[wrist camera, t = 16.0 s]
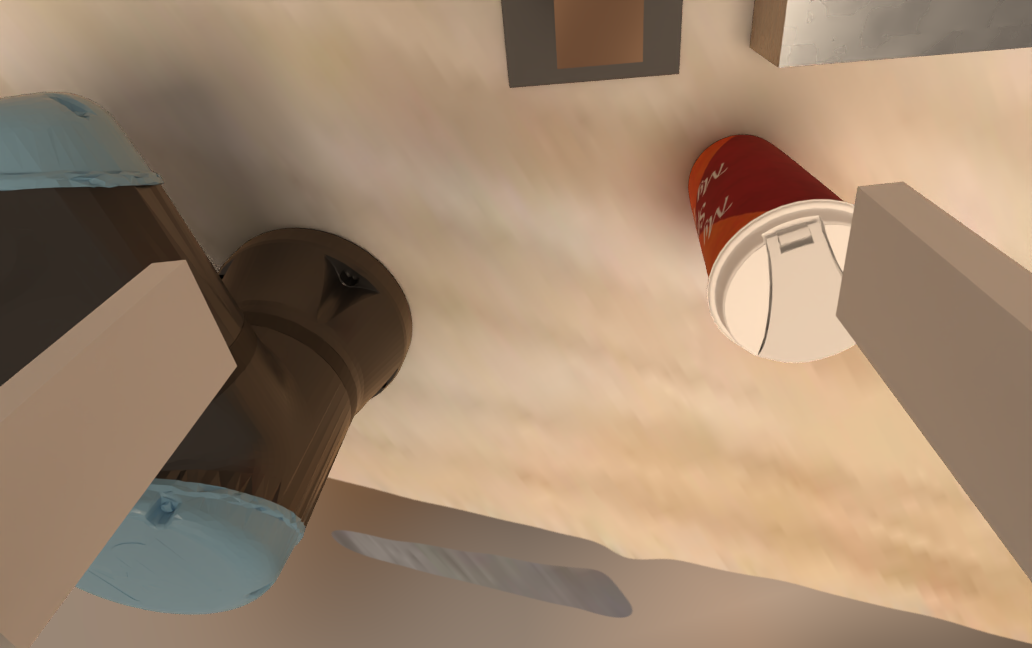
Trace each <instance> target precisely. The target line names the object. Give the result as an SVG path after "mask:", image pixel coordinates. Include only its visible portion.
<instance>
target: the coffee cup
mask: <svg viewBox="0 0 1032 648" xmlns="http://www.w3.org/2000/svg"><path fill="white" fill-rule="evenodd" d="M688 189H689V198H690V203H691V208H692V212H693V217H694V221H695V225H696V229H697V233H698V237H699V241H700V245H701V249H702V253H703V257H704V261H705V265H706V269H707V273H708V277H709V279H708V285H707V302H708V306H709V311H710V313H711V316H712V318H713V320H714V322H715V324H716V325H717V327H718V328H719V330H720V331H721V332H722V333H723V334H724V335H725V336H726V337H727V338H728V339H729V340H731V341H732V342H734V343H735V344H737V345H738V346H740V347H742V348H744V349H745V350H746V351H748V352H749V353H751V354H753V355H755V356H757V355H758V357H762V358H766V359H770V360H774V361H779V362H784V363H803V362H811V361H815V360H820V359H824V358H827V357H830V356H833V355H836V354H838V353H840V352H843V351H845V350H847V349H849V348H850V347H852V346H854V345H855V344H856V343H855V341H854V340H853V339H852V337H851V336H850V335H849V333H848V332H847V330H846V329H845V328H844V326H843V325H842V324H841V322H840V321H839V320H838V318H837V317H836V310H837V304H838V298H839V293H840V287H841V281H842V275H843V269H844V264H845V258H846V252H847V246H848V240H849V234H850V229H851V223H852V217H853V211H854V204H851V203H848V202H845V201H843V200H842V199H840V198H839V197H838V196H837V195H835V194H834V193H833V192H832V191H831V190H829V189H828V188H827V187H826V186H824V185H823V184H822V183H821V182H820V181H818V180H817V179H816V178H815V177H813V176H812V175H811V174H810V173H809V172H807V171H806V170H805V169H804V168H802V167H801V166H800V165H799V164H797V163H796V162H795V161H794V160H792V159H791V158H790V157H789V156H787V155H786V154H785V153H784V152H782V151H781V150H780V149H778V148H777V147H775V146H774V145H773V144H771V143H770V142H768V141H766V140H764V139H762V138H760V137H756V136H752V135H734V136H730V137H726V138H724V139H721V140H719V141H717V142H715V143H714V144H712V145H711V146H710V147H708V148H707V149H706V150H705V151H704V152H703V153H702V154H701V155H700V156H699V158H698V159H697V160H696V162H695V164H694V166H693V168H692V170H691V173H690V177H689V184H688Z"/></svg>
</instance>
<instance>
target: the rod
mask: <svg viewBox="0 0 1032 648" xmlns="http://www.w3.org/2000/svg"><path fill="white" fill-rule="evenodd" d="M554 14H555V32H556V51H557V69H564V68H576V67H587V66H599V65H611V64H622V63H634V62H643V19H644V0H554Z"/></svg>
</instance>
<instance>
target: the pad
mask: <svg viewBox="0 0 1032 648" xmlns="http://www.w3.org/2000/svg"><path fill="white" fill-rule="evenodd" d="M501 3H502V13H503V24H504V34H505V44H506V55H507V65H508V76H509V86H510V88H514V87H526V86H538V85H550V84H562V83H574V82H586V81H599V80H611V79H623V78H635V77H647V76H659V75H671V74H679V65H680V44H681V24H682V3H683V0H644V19H643V62H634V63H622V64H611V65H599V66H587V67H576V68H564V69H557V51H556V32H555V14H554V0H501Z"/></svg>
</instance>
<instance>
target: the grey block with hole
mask: <svg viewBox="0 0 1032 648" xmlns="http://www.w3.org/2000/svg"><path fill="white" fill-rule="evenodd" d="M1027 47H1032V0H755V3H754V12H753V21H752V31H751V40H750V48H751V49H753V50H754V51H755V52H757V53H758V54H760V55H761V56H763V57H764V58H765V59H767V60H768V61H770V62H771V63H773V64H774V65H775V66H777V67H778V68H783V67H795V66H807V65H820V64H832V63H844V62H856V61H868V60H881V59H893V58H905V57H917V56H929V55H942V54H954V53H966V52H978V51H990V50H1003V49H1015V48H1027Z"/></svg>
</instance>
